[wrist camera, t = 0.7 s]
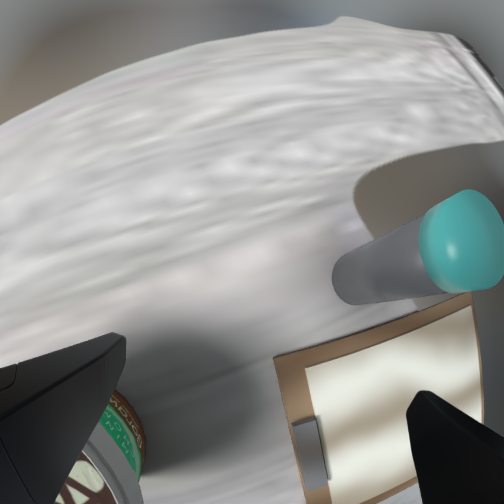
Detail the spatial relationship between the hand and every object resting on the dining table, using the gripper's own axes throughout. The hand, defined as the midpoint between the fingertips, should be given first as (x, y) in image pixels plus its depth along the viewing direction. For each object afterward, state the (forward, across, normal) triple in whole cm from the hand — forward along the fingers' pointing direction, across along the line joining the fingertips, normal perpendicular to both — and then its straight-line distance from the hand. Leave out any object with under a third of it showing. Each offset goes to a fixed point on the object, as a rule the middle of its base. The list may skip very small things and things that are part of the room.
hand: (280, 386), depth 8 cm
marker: (+15, -7, +1) cm, 17 cm away
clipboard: (+11, -14, +10) cm, 20 cm away
